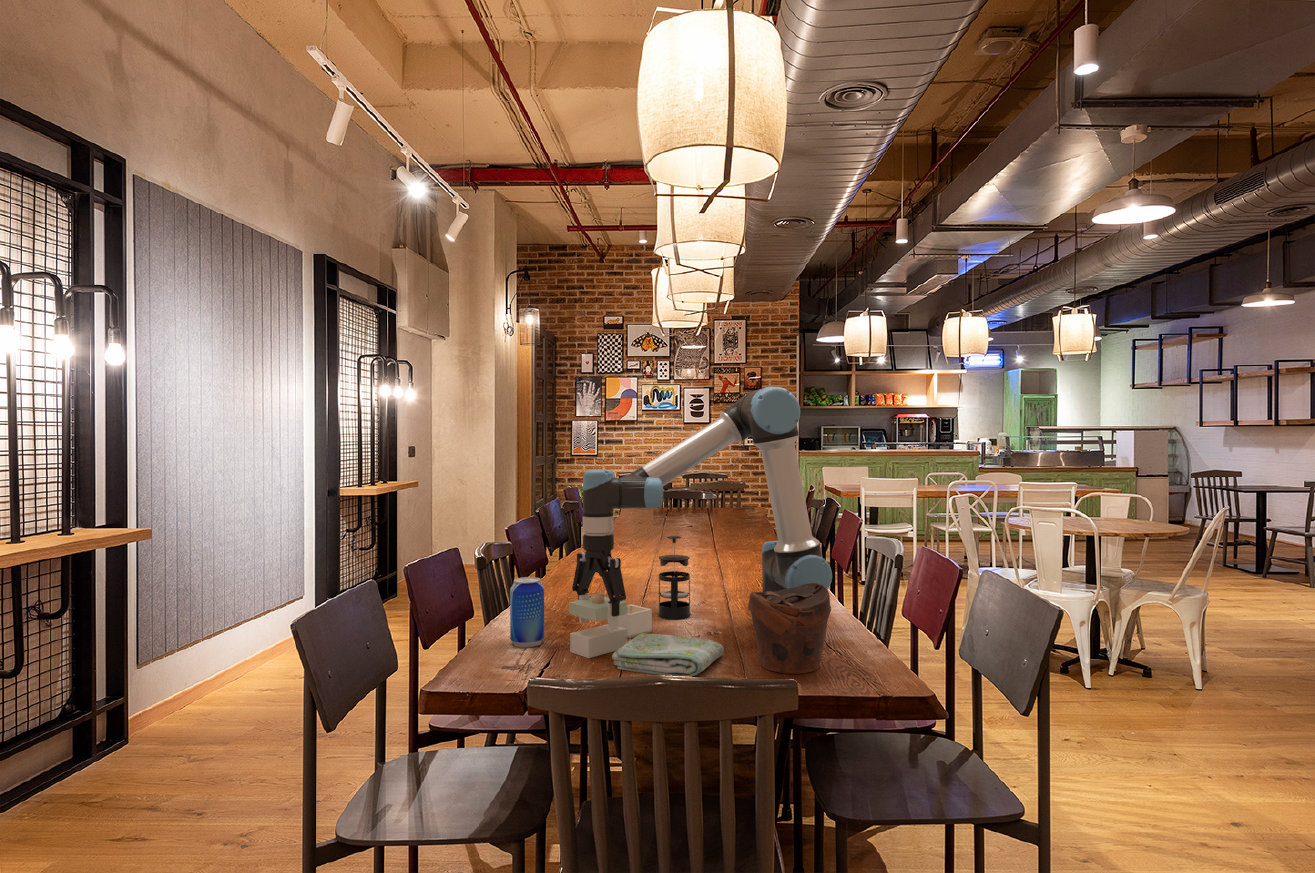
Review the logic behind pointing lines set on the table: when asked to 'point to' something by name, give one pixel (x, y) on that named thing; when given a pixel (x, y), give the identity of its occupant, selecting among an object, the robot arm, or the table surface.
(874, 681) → the table surface
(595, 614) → the lid
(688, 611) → the french press
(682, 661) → the towel
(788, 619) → the brown tapered bucket
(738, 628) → the table surface
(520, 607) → the beer can
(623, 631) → the block
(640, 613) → the open white box
